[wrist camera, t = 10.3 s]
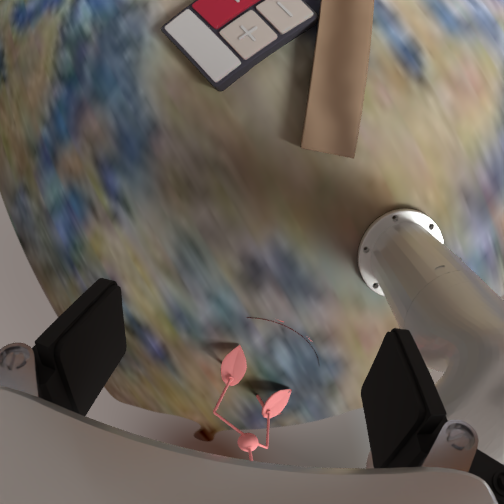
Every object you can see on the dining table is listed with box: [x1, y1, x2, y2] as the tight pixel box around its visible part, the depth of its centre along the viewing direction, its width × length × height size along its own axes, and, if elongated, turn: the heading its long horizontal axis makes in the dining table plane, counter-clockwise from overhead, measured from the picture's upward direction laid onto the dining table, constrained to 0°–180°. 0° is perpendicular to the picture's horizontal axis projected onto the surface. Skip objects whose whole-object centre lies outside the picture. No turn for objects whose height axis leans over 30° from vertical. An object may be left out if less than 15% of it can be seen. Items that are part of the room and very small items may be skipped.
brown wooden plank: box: [300, 0, 374, 158], centre depth 29 cm, size 6×32×3 cm, turn 173°
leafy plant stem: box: [213, 317, 319, 461], centre depth 33 cm, size 15×26×35 cm, turn 39°
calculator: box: [161, 0, 318, 91], centre depth 30 cm, size 11×4×15 cm
